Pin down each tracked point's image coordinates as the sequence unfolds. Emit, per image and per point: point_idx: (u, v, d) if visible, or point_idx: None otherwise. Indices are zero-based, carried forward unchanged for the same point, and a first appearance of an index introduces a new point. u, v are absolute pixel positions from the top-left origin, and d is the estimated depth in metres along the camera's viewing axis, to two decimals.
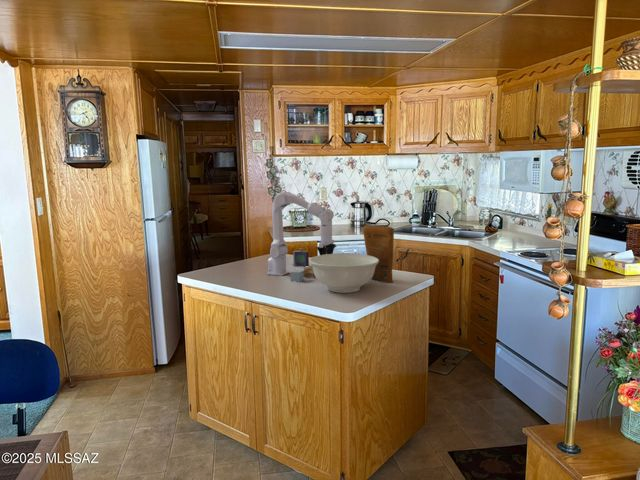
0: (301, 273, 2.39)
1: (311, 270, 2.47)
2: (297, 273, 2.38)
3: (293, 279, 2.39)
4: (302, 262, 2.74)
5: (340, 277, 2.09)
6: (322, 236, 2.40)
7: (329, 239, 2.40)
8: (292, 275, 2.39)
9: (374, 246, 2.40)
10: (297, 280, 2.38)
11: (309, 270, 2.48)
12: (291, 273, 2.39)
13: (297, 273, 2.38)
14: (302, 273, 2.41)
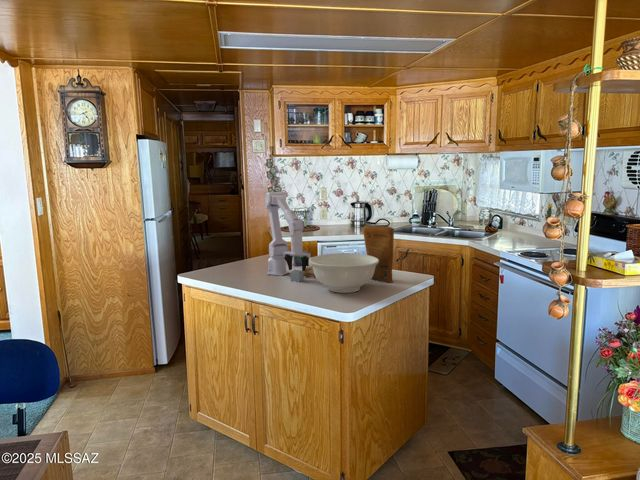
0: (301, 273, 2.39)
1: (311, 270, 2.47)
2: (297, 273, 2.38)
3: (293, 279, 2.39)
4: None
5: (340, 277, 2.09)
6: None
7: (291, 250, 2.37)
8: (292, 275, 2.39)
9: (374, 246, 2.40)
10: (297, 280, 2.38)
11: (309, 270, 2.48)
12: (291, 273, 2.39)
13: (297, 273, 2.38)
14: (302, 273, 2.41)
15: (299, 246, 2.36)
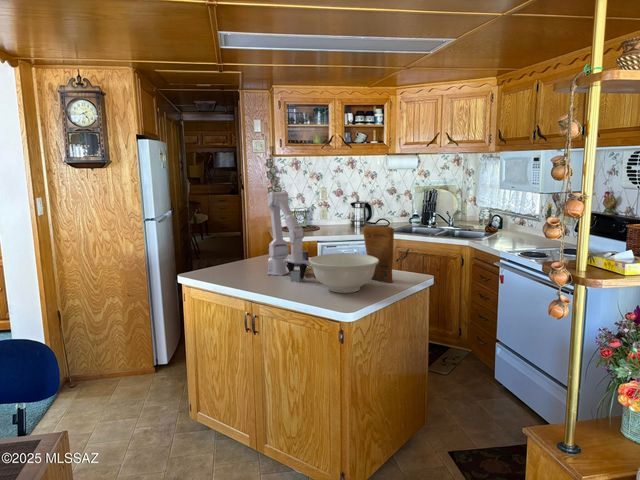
0: None
1: (311, 270, 2.47)
2: (297, 273, 2.38)
3: (293, 279, 2.39)
4: None
5: (340, 277, 2.09)
6: None
7: (292, 257, 2.38)
8: (292, 275, 2.39)
9: (374, 246, 2.40)
10: (297, 280, 2.38)
11: (309, 270, 2.48)
12: (291, 273, 2.39)
13: (297, 273, 2.38)
14: None
15: (299, 254, 2.37)
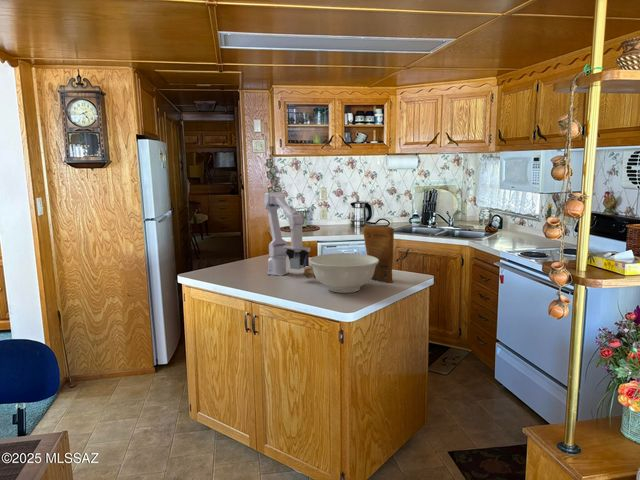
0: None
1: (311, 270, 2.47)
2: (297, 260, 2.36)
3: (293, 266, 2.38)
4: None
5: (340, 277, 2.09)
6: None
7: (291, 244, 2.37)
8: (292, 262, 2.38)
9: (374, 246, 2.40)
10: (297, 267, 2.37)
11: (309, 270, 2.48)
12: (291, 260, 2.38)
13: (296, 260, 2.37)
14: None
15: (299, 240, 2.35)
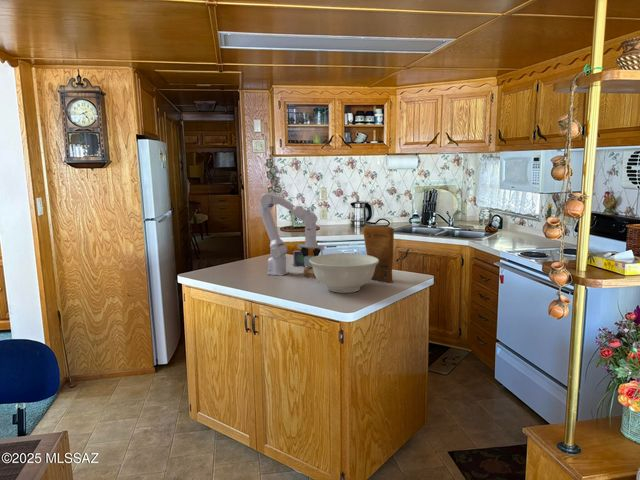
0: None
1: (311, 270, 2.47)
2: None
3: (307, 264, 2.48)
4: (302, 262, 2.74)
5: (340, 277, 2.09)
6: None
7: (306, 242, 2.47)
8: (306, 260, 2.48)
9: (374, 246, 2.40)
10: (311, 265, 2.47)
11: (309, 270, 2.48)
12: (305, 258, 2.48)
13: (310, 258, 2.46)
14: None
15: (313, 239, 2.46)
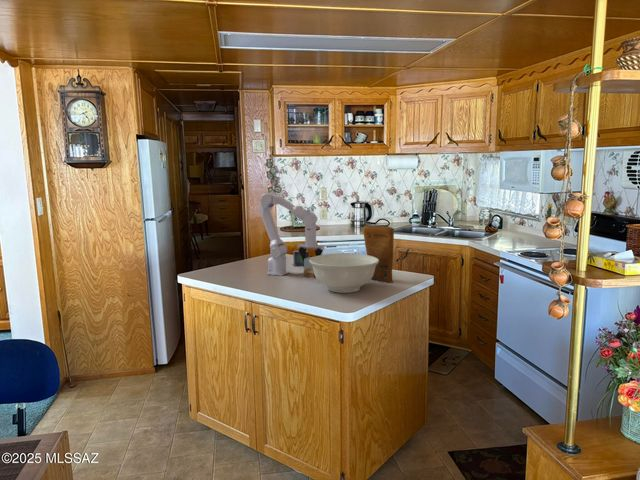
0: None
1: (311, 270, 2.47)
2: None
3: (306, 266, 2.48)
4: (302, 262, 2.74)
5: (340, 277, 2.09)
6: None
7: (306, 242, 2.47)
8: (305, 262, 2.48)
9: (374, 246, 2.40)
10: (310, 267, 2.47)
11: (309, 270, 2.48)
12: (305, 260, 2.48)
13: None
14: None
15: (313, 239, 2.46)
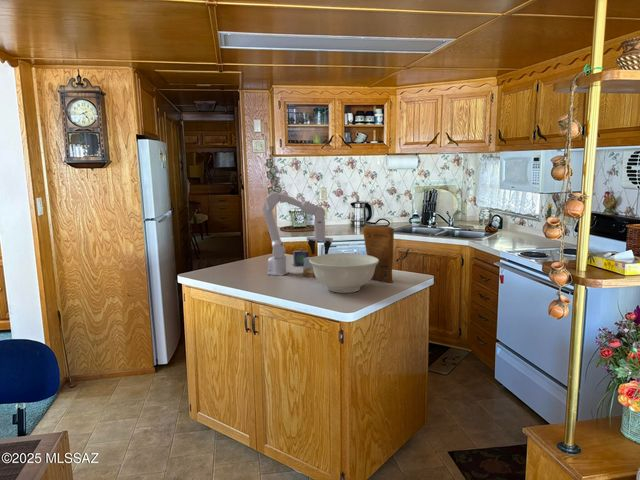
0: None
1: (310, 270, 2.47)
2: None
3: (306, 265, 2.48)
4: (302, 262, 2.74)
5: (340, 277, 2.09)
6: None
7: (315, 235, 2.52)
8: (305, 262, 2.48)
9: (374, 246, 2.40)
10: (310, 266, 2.47)
11: (309, 270, 2.48)
12: (304, 260, 2.48)
13: None
14: None
15: (322, 231, 2.51)
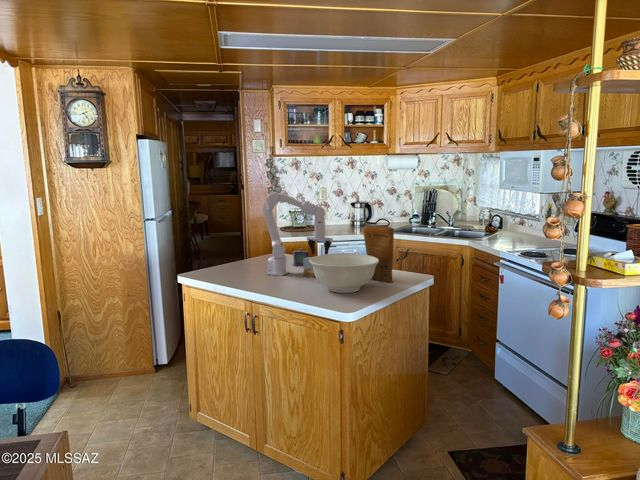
0: None
1: (311, 270, 2.47)
2: None
3: (306, 266, 2.48)
4: (302, 262, 2.74)
5: (340, 277, 2.09)
6: None
7: (315, 235, 2.52)
8: (305, 262, 2.48)
9: (374, 246, 2.40)
10: (310, 267, 2.47)
11: (309, 270, 2.48)
12: (304, 260, 2.48)
13: None
14: None
15: (322, 231, 2.51)
